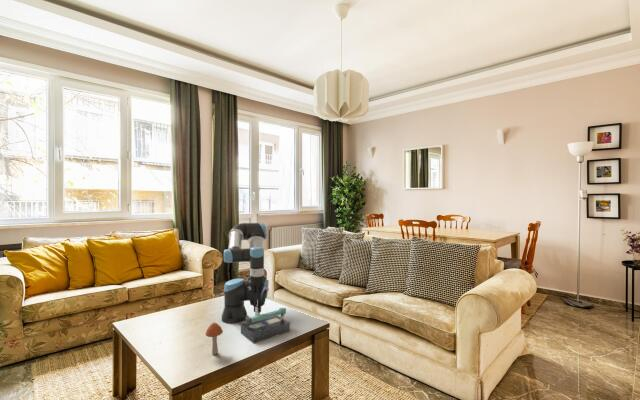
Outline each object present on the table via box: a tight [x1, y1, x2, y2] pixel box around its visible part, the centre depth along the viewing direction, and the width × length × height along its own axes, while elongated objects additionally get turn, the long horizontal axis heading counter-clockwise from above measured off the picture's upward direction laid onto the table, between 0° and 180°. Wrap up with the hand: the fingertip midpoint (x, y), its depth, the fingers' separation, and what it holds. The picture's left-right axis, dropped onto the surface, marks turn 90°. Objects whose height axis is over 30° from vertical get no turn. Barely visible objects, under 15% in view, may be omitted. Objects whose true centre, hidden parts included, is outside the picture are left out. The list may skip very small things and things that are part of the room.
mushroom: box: [205, 322, 224, 355], centre depth 155 cm, size 8×8×15 cm
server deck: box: [240, 314, 291, 344], centre depth 179 cm, size 15×23×8 cm, turn 128°
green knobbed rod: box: [244, 307, 287, 325], centre depth 179 cm, size 24×4×3 cm, turn 128°
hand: (257, 317), depth 180 cm, fingers closed
